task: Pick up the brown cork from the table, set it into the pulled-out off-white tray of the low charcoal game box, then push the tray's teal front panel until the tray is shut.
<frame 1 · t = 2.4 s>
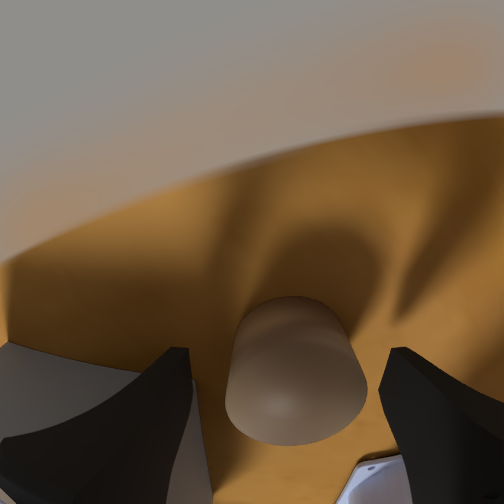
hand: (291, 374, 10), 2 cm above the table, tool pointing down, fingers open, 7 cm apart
brown cork: (289, 345, 12), on the table
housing: (110, 436, 14), on the table
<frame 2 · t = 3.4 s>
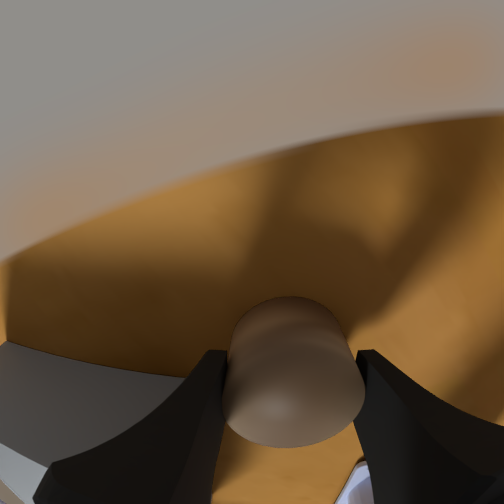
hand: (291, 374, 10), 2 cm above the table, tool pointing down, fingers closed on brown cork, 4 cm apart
brown cork: (287, 346, 12), on the table, touching gripper
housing: (109, 435, 14), on the table
when the fingers open (5 cm above the table, at t = 8.1 s): brown cork stays where it is, resting on tray.
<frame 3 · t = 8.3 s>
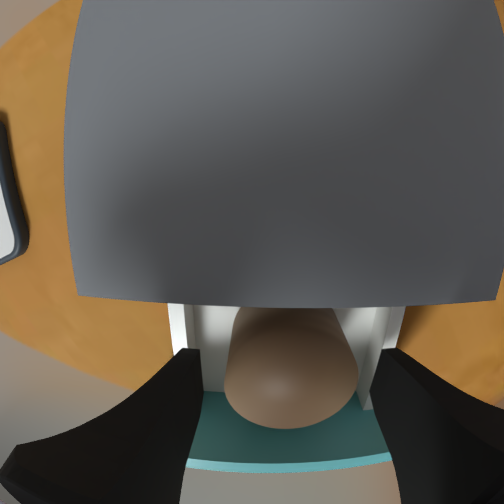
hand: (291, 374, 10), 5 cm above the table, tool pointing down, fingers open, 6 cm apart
tray: (292, 324, 10), point 3 cm above the table, slide at 7.0 cm, touching brown cork
brown cork: (285, 333, 12), point 2 cm above the table, touching tray
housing: (292, 100, 11), on the table
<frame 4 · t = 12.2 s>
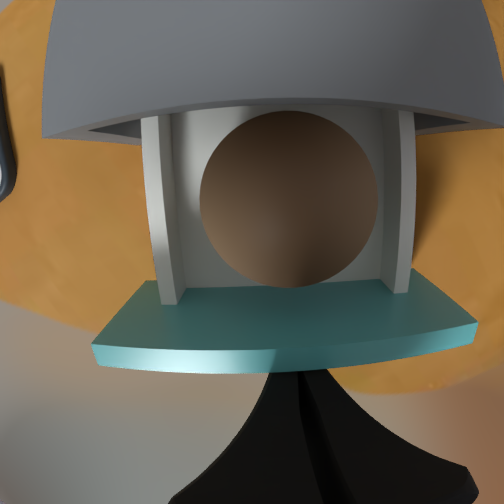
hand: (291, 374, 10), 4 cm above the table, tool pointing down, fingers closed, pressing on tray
tray: (285, 147, 9), point 3 cm above the table, slide at 5.6 cm, touching gripper, brown cork
brown cork: (282, 189, 11), point 2 cm above the table, touching tray
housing: (268, 9, 10), on the table
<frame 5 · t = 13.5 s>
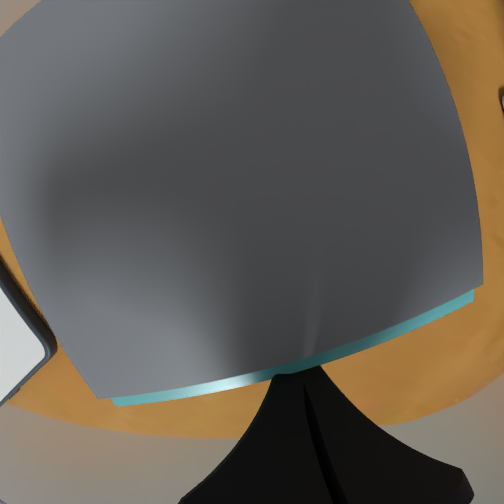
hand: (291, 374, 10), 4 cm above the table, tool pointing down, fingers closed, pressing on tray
tray: (220, 162, 9), point 3 cm above the table, slide at -0.3 cm, touching gripper, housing, brown cork
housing: (222, 141, 12), on the table
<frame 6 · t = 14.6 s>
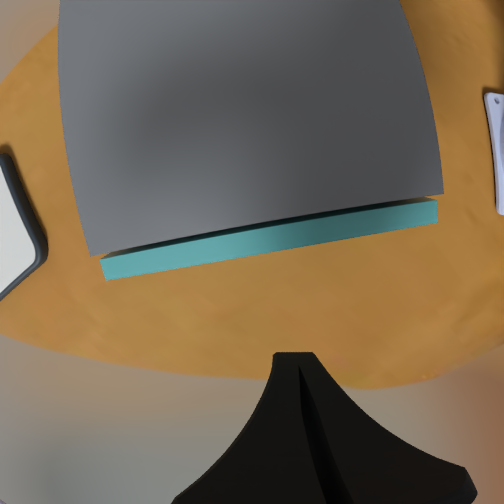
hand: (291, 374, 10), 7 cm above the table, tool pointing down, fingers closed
tray: (241, 89, 10), point 3 cm above the table, slide at 0.0 cm, touching brown cork
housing: (240, 83, 13), on the table
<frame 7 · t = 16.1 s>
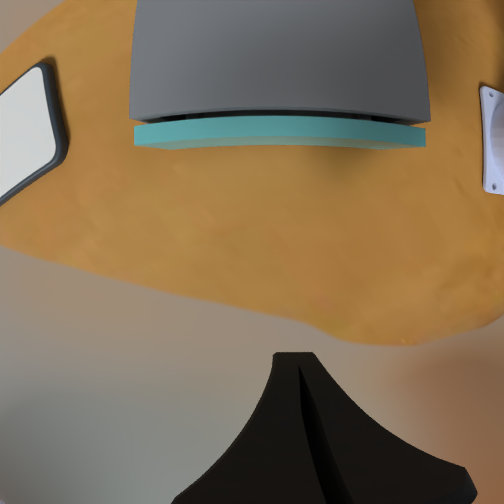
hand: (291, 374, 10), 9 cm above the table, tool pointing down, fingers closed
tray: (277, 30, 12), point 3 cm above the table, slide at 0.0 cm, touching brown cork
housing: (273, 36, 14), on the table
smartphone: (0, 153, 17), on the table
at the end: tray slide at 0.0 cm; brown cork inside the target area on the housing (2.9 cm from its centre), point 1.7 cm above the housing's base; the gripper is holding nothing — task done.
